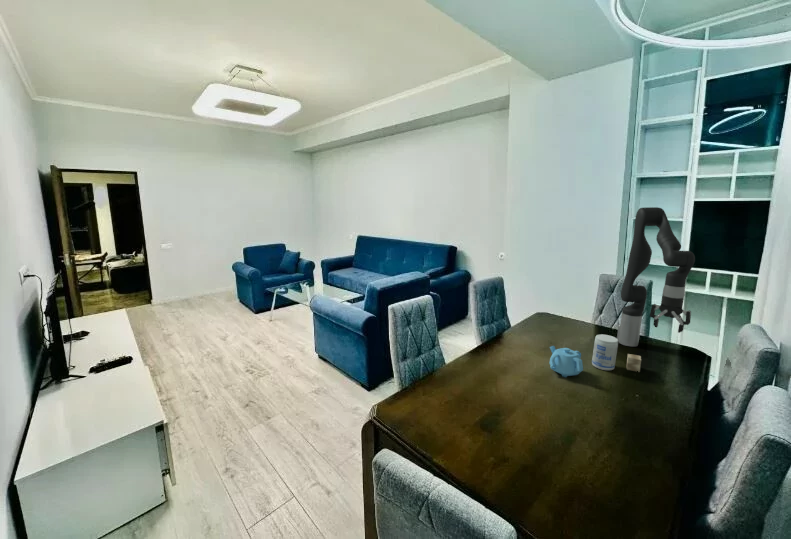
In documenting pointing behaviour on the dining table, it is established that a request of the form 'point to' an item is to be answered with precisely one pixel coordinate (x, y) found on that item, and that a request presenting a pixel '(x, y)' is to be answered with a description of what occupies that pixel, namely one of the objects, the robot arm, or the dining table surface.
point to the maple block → (633, 362)
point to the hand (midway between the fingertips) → (667, 329)
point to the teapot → (566, 361)
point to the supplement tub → (605, 352)
